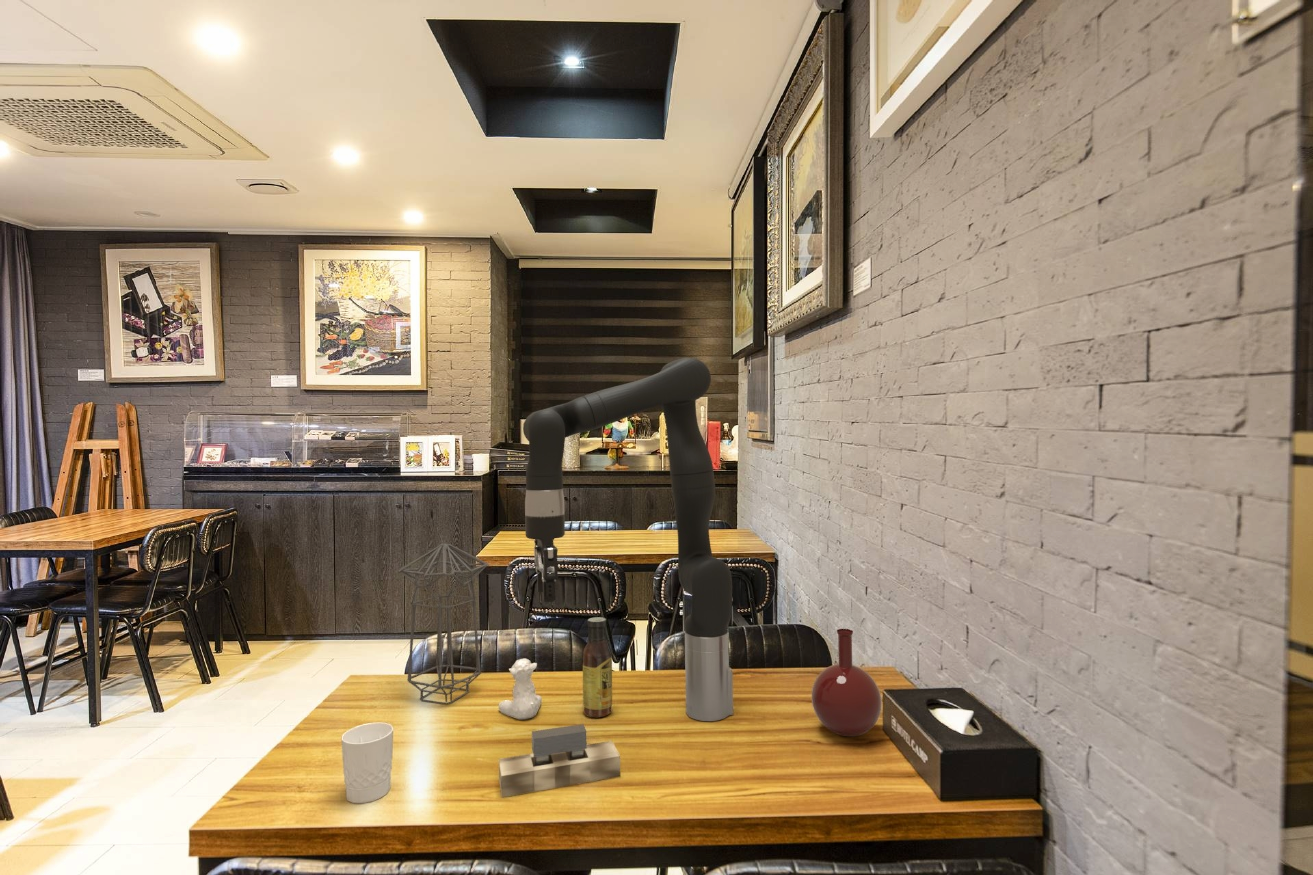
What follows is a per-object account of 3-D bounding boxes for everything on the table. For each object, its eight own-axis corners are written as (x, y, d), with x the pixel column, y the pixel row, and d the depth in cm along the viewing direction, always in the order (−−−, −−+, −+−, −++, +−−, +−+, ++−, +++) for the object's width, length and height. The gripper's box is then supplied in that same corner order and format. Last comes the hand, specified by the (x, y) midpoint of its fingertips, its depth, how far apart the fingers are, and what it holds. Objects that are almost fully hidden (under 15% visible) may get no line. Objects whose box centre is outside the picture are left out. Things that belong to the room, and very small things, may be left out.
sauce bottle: (607, 720, 133) (606, 624, 133) (579, 718, 134) (577, 623, 134) (616, 707, 139) (614, 615, 140) (588, 705, 141) (587, 614, 141)
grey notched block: (583, 769, 113) (583, 723, 113) (587, 777, 110) (586, 731, 110) (532, 777, 111) (531, 731, 111) (534, 786, 108) (533, 738, 108)
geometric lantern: (393, 703, 143) (393, 547, 145) (442, 681, 158) (441, 538, 159) (449, 713, 137) (448, 549, 139) (495, 688, 152) (493, 540, 153)
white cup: (353, 781, 110) (352, 723, 110) (400, 778, 111) (399, 720, 111) (334, 807, 102) (333, 744, 103) (384, 804, 103) (384, 742, 103)
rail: (612, 759, 116) (611, 740, 116) (620, 776, 111) (620, 755, 111) (499, 779, 110) (498, 758, 110) (501, 797, 104) (501, 775, 105)
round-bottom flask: (815, 715, 134) (813, 619, 134) (882, 723, 129) (880, 624, 130) (808, 743, 121) (806, 637, 122) (882, 753, 117) (880, 644, 117)
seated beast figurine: (540, 702, 143) (539, 648, 143) (551, 716, 135) (550, 659, 135) (497, 710, 139) (497, 655, 139) (506, 726, 131) (505, 667, 131)
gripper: (570, 515, 118) (571, 603, 118) (558, 508, 132) (559, 587, 132) (529, 517, 116) (530, 607, 116) (521, 510, 130) (522, 590, 130)
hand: (546, 596), depth 124 cm, fingers open, 8 cm apart
